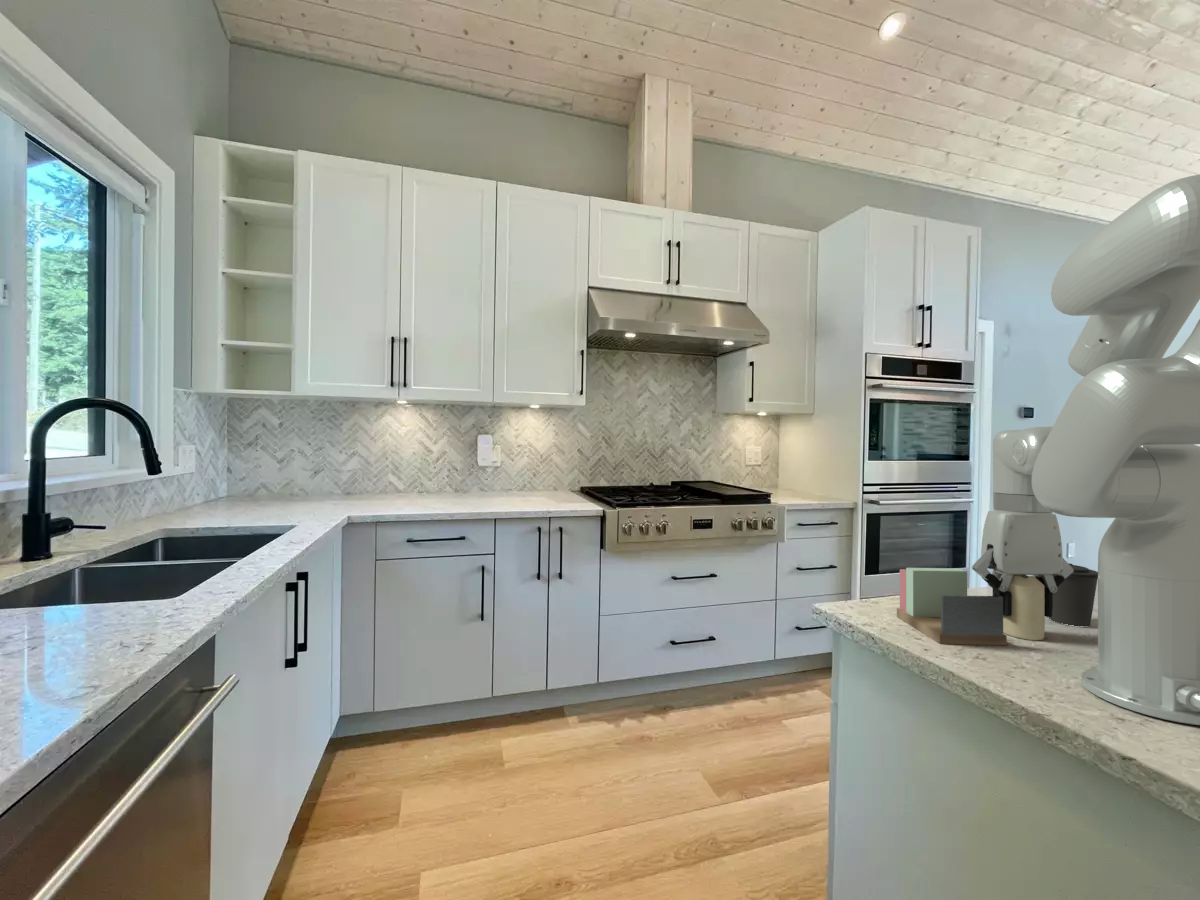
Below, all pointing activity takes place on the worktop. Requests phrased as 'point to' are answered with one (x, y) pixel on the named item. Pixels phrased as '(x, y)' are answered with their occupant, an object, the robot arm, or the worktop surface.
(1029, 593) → the candle
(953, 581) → the books
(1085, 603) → the coffee cup
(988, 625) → the bookend
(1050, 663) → the worktop surface
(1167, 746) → the worktop surface
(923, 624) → the brown wooden board
